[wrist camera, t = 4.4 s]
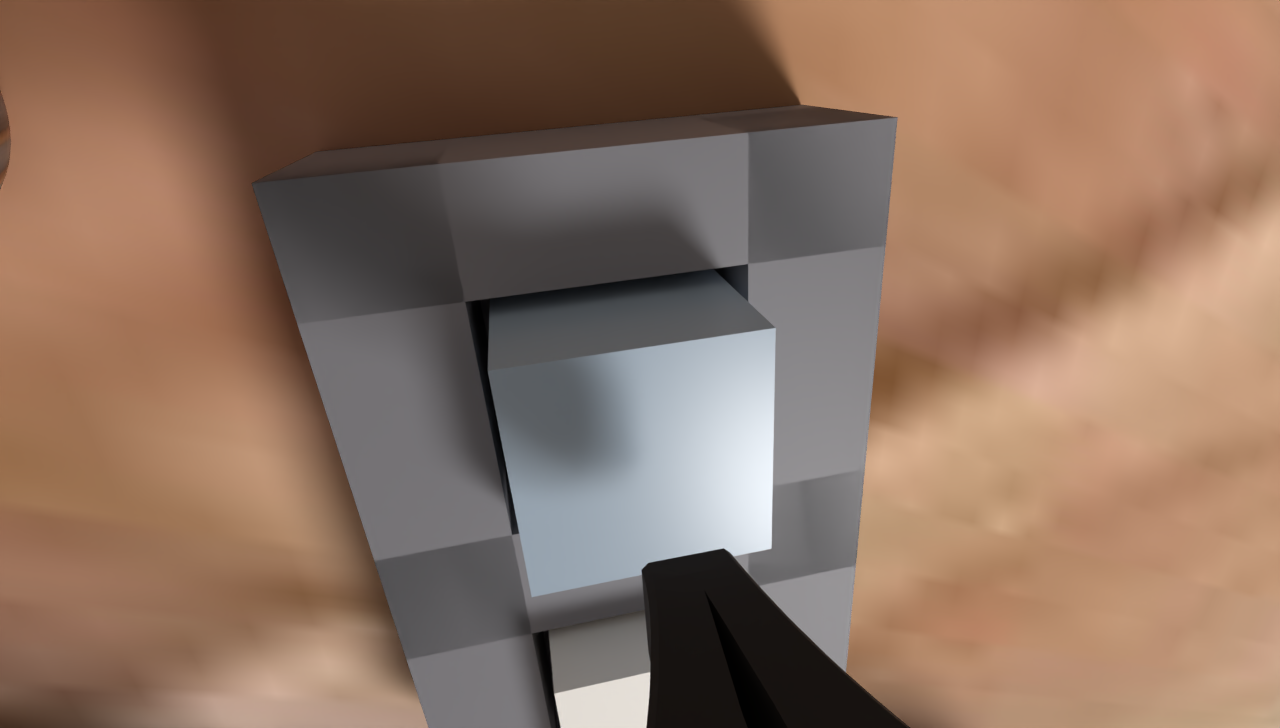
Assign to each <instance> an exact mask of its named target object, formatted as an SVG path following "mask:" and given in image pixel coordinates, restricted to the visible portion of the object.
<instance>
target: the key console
mask: <svg viewBox="0 0 1280 728" xmlns="http://www.w3.org/2000/svg"><path fill="white" fill-rule="evenodd" d="M896 127H897V117H891V116H883V115H876V114H868V113H860V112H853V111H845V110H838V109H830V108H822V107H815V106H807V105H795V106H785V107H774V108H764V109H754V110H743V111H733V112H722V113H712V114H702V115H691V116H681V117H671V118H660V119H650V120H640V121H629V122H619V123H608V124H598V125H588V126H577V127H567V128H557V129H546V130H536V131H525V132H515V133H505V134H494V135H484V136H474V137H463V138H453V139H443V140H432V141H422V142H411V143H401V144H391V145H380V146H370V147H360V148H349V149H339V150H329V151H318V152H315V153H313V154H311V155H309V156H307V157H305V158H303V159H300V160H298V161H296V162H294V163H292V164H290V165H288V166H286V167H284V168H282V169H280V170H278V171H276V172H274V173H271V174H269V175H267V176H265V177H263V178H261V179H259V180H257V181H255V182H253V183H252V186H253V189H254V192H255V195H256V199H257V202H258V205H259V208H260V211H261V214H262V217H263V220H264V223H265V226H266V229H267V232H268V235H269V239H270V242H271V245H272V248H273V251H274V254H275V257H276V260H277V263H278V266H279V269H280V272H281V275H282V278H283V282H284V285H285V288H286V291H287V294H288V297H289V300H290V303H291V306H292V309H293V312H294V315H295V318H296V322H297V325H298V328H299V331H300V334H301V337H302V340H303V343H304V346H305V349H306V352H307V355H308V358H309V362H310V365H311V368H312V371H313V374H314V377H315V380H316V383H317V386H318V389H319V392H320V395H321V398H322V401H323V405H324V408H325V411H326V414H327V417H328V420H329V423H330V426H331V429H332V432H333V435H334V438H335V441H336V445H337V448H338V451H339V454H340V457H341V460H342V463H343V466H344V469H345V472H346V475H347V478H348V481H349V485H350V488H351V491H352V494H353V497H354V500H355V503H356V506H357V509H358V512H359V515H360V518H361V521H362V524H363V528H364V531H365V534H366V537H367V540H368V543H369V546H370V549H371V552H372V555H373V558H374V561H375V564H376V568H377V571H378V574H379V577H380V580H381V583H382V586H383V589H384V592H385V595H386V598H387V601H388V604H389V608H390V611H391V614H392V617H393V620H394V623H395V626H396V629H397V632H398V635H399V638H400V641H401V644H402V647H403V651H404V654H405V657H406V660H407V663H408V666H409V669H410V672H411V675H412V678H413V681H414V684H415V687H416V691H417V694H418V697H419V700H420V703H421V706H422V709H423V712H424V715H425V718H426V721H427V724H428V727H429V728H561V726H560V721H559V716H558V711H557V705H556V700H555V695H554V685H553V674H552V663H551V652H550V641H549V630H551V629H556V628H561V627H565V626H570V625H575V624H580V623H584V622H589V621H594V620H599V619H603V618H608V617H613V616H618V615H622V614H627V613H632V612H637V611H641V610H645V607H644V595H643V583H642V575H639V576H634V577H629V578H624V579H619V580H614V581H609V582H604V583H599V584H594V585H589V586H584V587H579V588H574V589H570V590H565V591H560V592H555V593H550V594H545V595H540V596H535V597H532V596H531V591H530V586H529V580H528V575H527V570H526V565H525V560H524V555H523V550H522V544H521V539H520V534H519V529H518V524H517V519H516V514H515V509H514V503H513V498H512V493H511V488H510V483H509V478H508V473H507V467H506V462H505V457H504V452H503V447H502V442H501V437H500V431H499V426H498V421H497V416H496V411H495V406H494V401H493V396H492V390H491V385H490V380H489V375H488V344H489V311H490V298H497V297H505V296H512V295H520V294H527V293H535V292H542V291H550V290H557V289H565V288H572V287H580V286H587V285H595V284H602V283H610V282H617V281H625V280H632V279H640V278H647V277H655V276H662V275H670V274H677V273H685V272H692V271H700V270H707V269H714V270H715V271H716V272H717V273H718V274H719V275H720V276H721V277H722V278H723V279H724V280H726V281H727V282H728V283H729V284H730V285H731V286H732V287H733V288H734V289H735V290H736V291H737V292H738V293H739V294H740V295H741V296H742V297H744V298H745V299H746V300H747V301H748V302H749V303H750V304H751V305H752V306H753V307H754V308H755V309H756V310H757V311H758V312H759V313H760V314H762V315H763V316H764V317H765V318H766V319H767V320H768V321H769V322H770V323H771V324H772V325H773V326H774V327H775V328H776V341H775V393H774V444H773V496H772V548H771V549H768V550H763V551H758V552H753V553H748V554H743V555H738V556H733V557H734V558H735V559H736V560H737V561H738V563H739V564H740V565H741V566H742V567H743V568H744V570H745V571H746V572H747V573H748V574H749V575H750V576H751V577H752V579H753V580H754V581H755V582H756V583H757V584H758V585H759V586H760V587H761V589H762V590H763V591H764V592H765V593H766V594H767V595H768V596H769V597H770V598H771V599H772V600H773V601H774V603H775V604H776V605H777V606H778V607H779V608H780V609H781V610H782V611H783V612H784V613H785V614H786V615H787V616H788V617H789V618H790V619H791V620H792V621H793V622H794V623H795V624H796V625H797V626H798V627H799V628H800V629H801V630H802V631H803V632H804V633H805V634H806V635H807V636H808V637H809V638H810V639H811V640H812V641H813V642H814V643H815V644H816V645H817V646H818V647H819V648H820V649H821V650H822V651H823V652H824V653H825V654H826V655H827V656H828V657H830V658H831V659H832V660H833V661H834V662H835V663H836V664H837V665H838V666H839V667H840V668H841V669H843V670H844V671H845V672H846V665H847V654H848V644H849V633H850V622H851V611H852V601H853V590H854V579H855V568H856V558H857V547H858V536H859V525H860V514H861V504H862V493H863V482H864V471H865V461H866V450H867V439H868V428H869V418H870V407H871V396H872V385H873V375H874V364H875V353H876V342H877V332H878V321H879V310H880V299H881V289H882V278H883V267H884V256H885V246H886V235H887V224H888V213H889V203H890V192H891V181H892V170H893V160H894V149H895V138H896Z"/></svg>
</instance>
